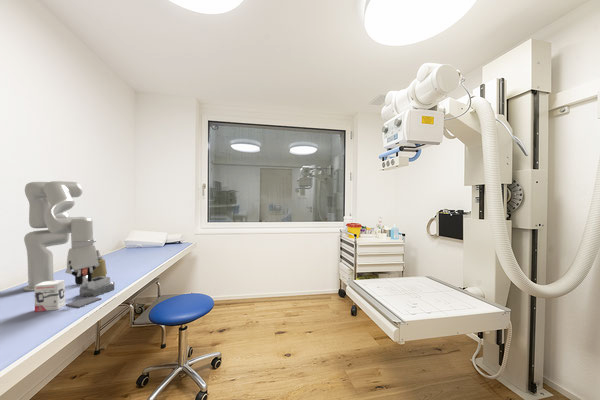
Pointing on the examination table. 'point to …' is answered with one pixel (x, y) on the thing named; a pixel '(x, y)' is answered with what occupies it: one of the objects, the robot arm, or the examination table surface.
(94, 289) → the block
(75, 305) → the mat
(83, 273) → the peg
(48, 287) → the ink box
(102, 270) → the squeeze bottle
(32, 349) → the examination table surface
